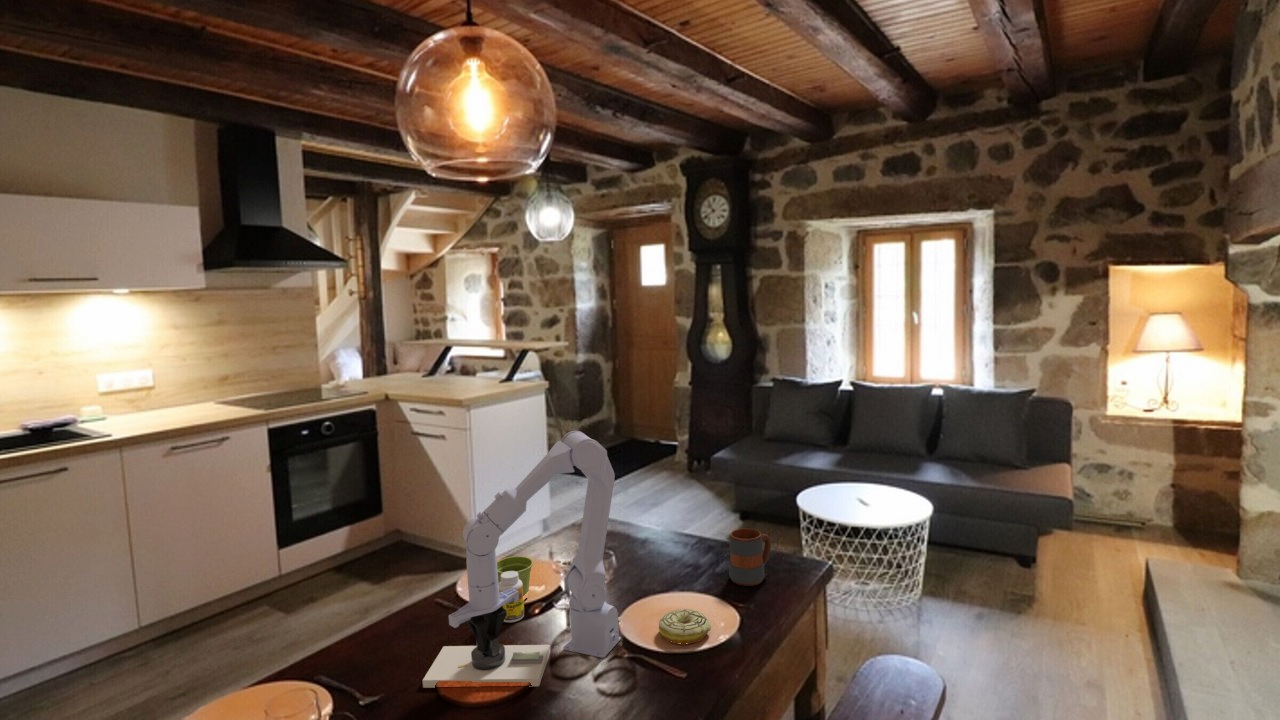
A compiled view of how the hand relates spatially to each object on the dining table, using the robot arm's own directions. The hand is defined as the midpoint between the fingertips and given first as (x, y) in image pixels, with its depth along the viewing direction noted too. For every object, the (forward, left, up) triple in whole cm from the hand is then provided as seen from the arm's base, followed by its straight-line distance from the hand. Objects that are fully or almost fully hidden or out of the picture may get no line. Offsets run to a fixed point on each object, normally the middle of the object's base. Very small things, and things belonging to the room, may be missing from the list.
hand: (487, 647), depth 134 cm
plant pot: (+13, -27, -5) cm, 30 cm away
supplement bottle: (+8, -19, -5) cm, 21 cm away
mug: (-37, -57, -5) cm, 68 cm away
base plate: (0, 0, -4) cm, 4 cm away
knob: (0, 0, -3) cm, 3 cm away
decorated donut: (-31, -26, -5) cm, 41 cm away
